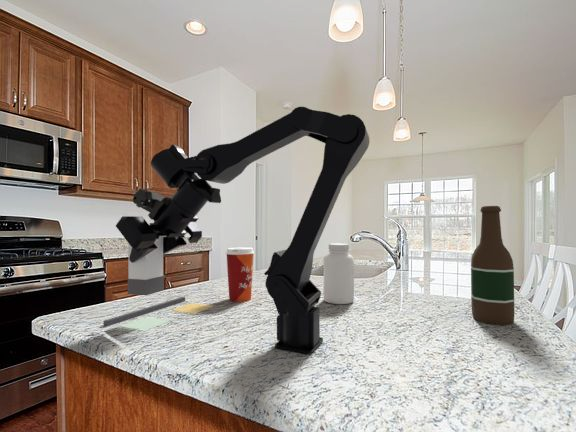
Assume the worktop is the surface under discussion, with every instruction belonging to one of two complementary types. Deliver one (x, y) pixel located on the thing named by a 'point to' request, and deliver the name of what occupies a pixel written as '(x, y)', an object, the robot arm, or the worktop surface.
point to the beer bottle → (492, 273)
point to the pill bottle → (338, 275)
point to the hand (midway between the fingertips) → (141, 259)
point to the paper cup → (240, 273)
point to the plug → (146, 272)
